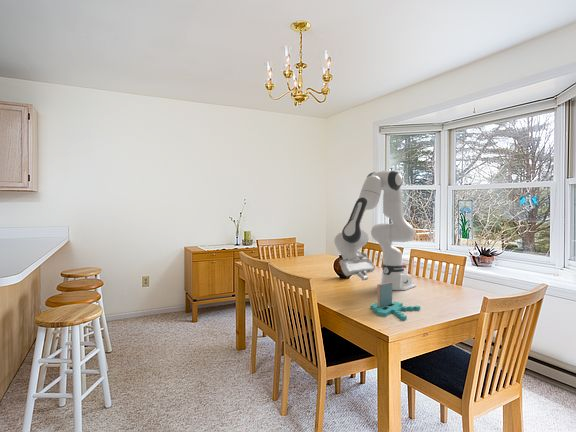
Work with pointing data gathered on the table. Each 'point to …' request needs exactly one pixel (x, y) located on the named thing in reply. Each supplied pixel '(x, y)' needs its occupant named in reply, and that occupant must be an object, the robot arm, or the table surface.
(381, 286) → the tile
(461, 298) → the table surface
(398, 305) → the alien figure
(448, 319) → the table surface
